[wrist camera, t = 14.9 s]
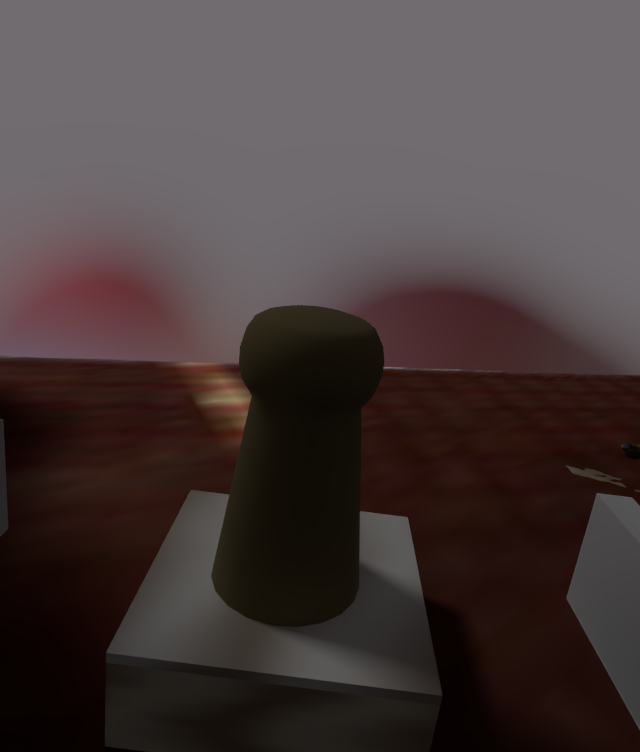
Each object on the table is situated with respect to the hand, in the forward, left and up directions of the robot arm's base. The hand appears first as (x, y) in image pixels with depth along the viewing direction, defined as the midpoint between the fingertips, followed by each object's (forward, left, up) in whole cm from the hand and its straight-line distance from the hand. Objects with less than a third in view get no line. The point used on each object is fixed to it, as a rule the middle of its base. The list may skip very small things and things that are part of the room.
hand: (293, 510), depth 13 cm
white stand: (0, +9, -12) cm, 15 cm away
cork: (0, +9, -8) cm, 12 cm away
